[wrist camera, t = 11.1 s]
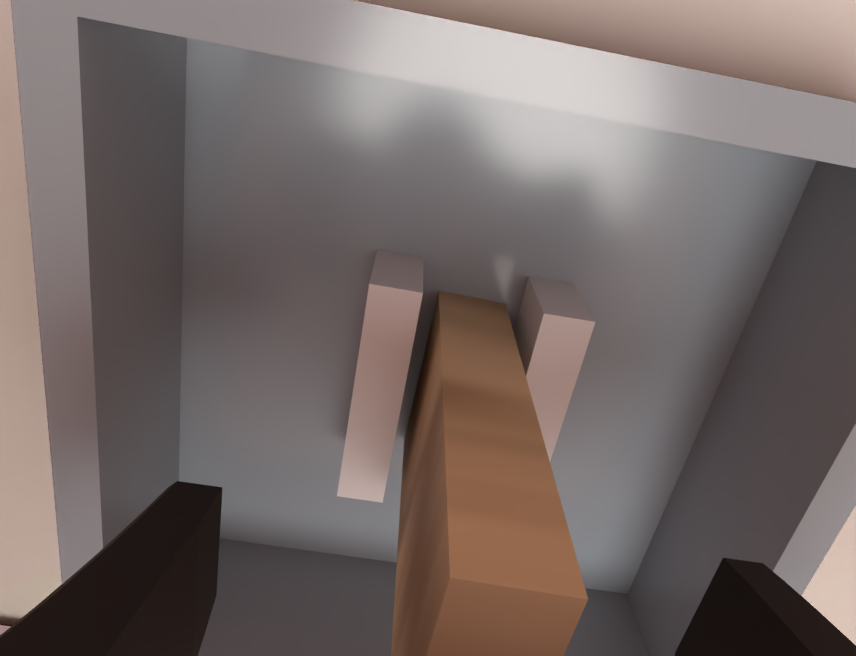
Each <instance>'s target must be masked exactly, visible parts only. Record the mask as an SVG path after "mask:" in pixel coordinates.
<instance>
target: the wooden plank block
mask: <svg viewBox="0 0 856 656" xmlns="http://www.w3.org/2000/svg"><path fill="white" fill-rule="evenodd" d="M587 601H588V597H587V593H586V590H585V586H584V582H583V579H582V575H581V572H580V568H579V565H578V561H577V557H576V554H575V550H574V547H573V543H572V540H571V536H570V532H569V529H568V525H567V522H566V518H565V515H564V511H563V507H562V504H561V500H560V497H559V493H558V490H557V486H556V482H555V479H554V475H553V472H552V468H551V465H550V461H549V457H548V454H547V450H546V447H545V443H544V440H543V436H542V432H541V429H540V425H539V422H538V418H537V415H536V411H535V407H534V404H533V400H532V397H531V393H530V390H529V386H528V382H527V379H526V375H525V372H524V368H523V364H522V361H521V357H520V354H519V350H518V347H517V343H516V339H515V336H514V332H513V329H512V325H511V322H510V318H509V314H508V311H507V307H506V304H505V303H500V302H495V301H490V300H485V299H480V298H475V297H470V296H465V295H459V294H454V293H449V292H444V291H439V292H438V296H437V300H436V305H435V309H434V313H433V318H432V322H431V326H430V330H429V335H428V339H427V343H426V348H425V352H424V356H423V360H422V365H421V369H420V373H419V378H418V382H417V386H416V390H415V395H414V399H413V403H412V408H411V412H410V416H409V420H408V425H407V429H406V433H405V438H404V449H403V466H402V483H401V499H400V516H399V533H398V549H397V566H396V583H395V600H394V616H393V633H392V650H391V656H564V653H565V651H566V649H567V646H568V644H569V642H570V640H571V637H572V635H573V633H574V631H575V628H576V626H577V624H578V621H579V619H580V617H581V615H582V612H583V610H584V608H585V606H586V603H587Z"/></svg>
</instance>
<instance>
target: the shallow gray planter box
mask: <svg viewBox="0 0 856 656" xmlns="http://www.w3.org/2000/svg"><path fill="white" fill-rule="evenodd" d="M11 8H12V19H13V30H14V42H15V53H16V65H17V76H18V87H19V99H20V110H21V122H22V133H23V144H24V156H25V167H26V178H27V190H28V201H29V213H30V224H31V235H32V247H33V258H34V270H35V281H36V292H37V304H38V315H39V326H40V338H41V349H42V361H43V372H44V383H45V395H46V406H47V418H48V429H49V440H50V452H51V463H52V474H53V486H54V497H55V509H56V520H57V531H58V543H59V554H60V566H61V577H62V584H63V583H64V582H65V581H66V580H67V579H69V578H70V577H71V576H72V575H73V574H74V573H76V572H77V571H78V570H79V569H80V568H81V567H82V566H84V565H85V564H86V563H87V562H88V561H89V560H91V559H92V558H93V557H94V556H95V555H96V554H97V553H98V552H100V551H101V550H102V549H103V548H104V547H105V546H106V545H107V544H108V543H109V542H111V541H112V540H113V539H114V538H115V537H116V536H117V535H118V534H119V533H120V532H122V531H123V530H124V529H125V528H126V527H127V526H128V525H129V524H130V523H131V522H132V521H133V520H134V519H135V518H137V517H138V516H139V515H140V514H141V513H142V512H143V511H144V510H145V509H146V508H147V507H148V506H149V505H150V504H151V503H152V502H153V501H154V500H155V499H156V498H157V497H158V496H160V495H161V494H162V493H163V492H164V491H165V490H166V489H167V488H168V487H169V486H170V485H172V484H174V483H175V482H177V481H181V482H188V483H195V484H203V485H210V486H217V487H223V488H222V506H221V524H220V541H219V559H218V577H217V595H216V598H215V602H214V605H213V608H212V612H211V615H210V618H209V621H208V625H207V628H206V631H205V635H204V638H203V641H202V644H201V647H200V650H199V654H198V656H391V650H392V633H393V616H394V600H395V583H396V566H397V549H398V533H399V516H400V499H401V483H402V466H403V449H404V438H405V433H406V429H407V425H408V420H409V416H410V412H411V408H412V403H413V399H414V395H415V390H416V386H417V382H418V378H419V373H420V369H421V365H422V360H423V356H424V352H425V348H426V343H427V339H428V335H429V330H430V326H431V322H432V318H433V313H434V309H435V305H436V300H437V296H438V292H439V291H444V292H449V293H454V294H459V295H465V296H470V297H475V298H480V299H485V300H490V301H495V302H500V303H505V304H506V307H507V311H508V314H509V318H510V322H511V325H512V329H513V332H514V336H515V339H516V343H517V347H518V350H519V354H520V357H521V361H522V364H523V368H524V372H525V375H526V379H527V382H528V386H529V390H530V393H531V397H532V400H533V404H534V407H535V411H536V415H537V418H538V422H539V425H540V429H541V432H542V436H543V440H544V443H545V447H546V450H547V454H548V457H549V461H550V465H551V468H552V472H553V475H554V479H555V482H556V486H557V490H558V493H559V497H560V500H561V504H562V507H563V511H564V515H565V518H566V522H567V525H568V529H569V532H570V536H571V540H572V543H573V547H574V550H575V554H576V557H577V561H578V565H579V568H580V572H581V575H582V579H583V582H584V586H585V590H586V593H587V597H588V601H587V603H586V606H585V608H584V610H583V612H582V615H581V617H580V619H579V621H578V624H577V626H576V628H575V631H574V633H573V635H572V637H571V640H570V642H569V644H568V646H567V649H566V651H565V653H564V656H675V652H676V650H677V648H678V646H679V644H680V642H681V640H682V638H683V636H684V634H685V632H686V630H687V628H688V626H689V624H690V622H691V620H692V618H693V616H694V614H695V612H696V610H697V608H698V606H699V604H700V602H701V600H702V598H703V596H704V594H705V592H706V590H707V588H708V586H709V584H710V582H711V580H712V578H713V576H714V574H715V572H716V570H717V569H718V567H719V565H720V563H721V561H722V559H723V558H730V559H737V560H744V561H751V562H758V563H763V564H764V565H766V566H767V567H768V568H769V569H771V570H772V571H773V572H774V573H775V574H777V575H778V576H779V577H780V578H781V579H783V580H784V581H785V582H786V583H787V584H788V585H790V586H791V587H792V588H793V589H794V590H795V591H796V592H797V593H799V594H800V595H802V594H803V592H804V590H805V589H806V587H807V585H808V584H809V582H810V580H811V579H812V577H813V575H814V574H815V572H816V570H817V569H818V567H819V565H820V564H821V562H822V560H823V559H824V557H825V555H826V554H827V552H828V550H829V549H830V547H831V545H832V544H833V542H834V540H835V539H836V537H837V535H838V534H839V532H840V530H841V529H842V527H843V525H844V524H845V522H846V520H847V519H848V517H849V515H850V514H851V512H852V510H853V509H854V507H855V505H856V102H852V101H847V100H842V99H837V98H832V97H827V96H822V95H817V94H812V93H807V92H802V91H798V90H793V89H788V88H783V87H778V86H773V85H768V84H763V83H758V82H753V81H748V80H743V79H739V78H734V77H729V76H724V75H719V74H714V73H709V72H704V71H699V70H694V69H689V68H684V67H679V66H675V65H670V64H665V63H660V62H655V61H650V60H645V59H640V58H635V57H630V56H625V55H620V54H615V53H611V52H606V51H601V50H596V49H591V48H586V47H581V46H576V45H571V44H566V43H561V42H556V41H552V40H547V39H542V38H537V37H532V36H527V35H522V34H517V33H512V32H507V31H502V30H497V29H492V28H488V27H483V26H478V25H473V24H468V23H463V22H458V21H453V20H448V19H443V18H438V17H433V16H429V15H424V14H419V13H414V12H409V11H404V10H399V9H394V8H389V7H384V6H379V5H374V4H369V3H365V2H360V1H355V0H11Z"/></svg>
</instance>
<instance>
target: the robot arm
mask: <svg viewBox="0 0 856 656" xmlns="http://www.w3.org/2000/svg"><path fill="white" fill-rule="evenodd" d="M222 488H223V487H217V486H210V485H203V484H195V483H188V482H181V481H177V482H175V483H174V484H172V485H170V486H169V487H168V488H167V489H166V490H165V491H164V492H163V493H162V494H161V495H160V496H158V497H157V498H156V499H155V500H154V501H153V502H152V503H151V504H150V505H149V506H148V507H147V508H146V509H145V510H144V511H143V512H142V513H141V514H140V515H139V516H138V517H137V518H135V519H134V520H133V521H132V522H131V523H130V524H129V525H128V526H127V527H126V528H125V529H124V530H123V531H122V532H120V533H119V534H118V535H117V536H116V537H115V538H114V539H113V540H112V541H111V542H109V543H108V544H107V545H106V546H105V547H104V548H103V549H102V550H101V551H100V552H98V553H97V554H96V555H95V556H94V557H93V558H92V559H91V560H89V561H88V562H87V563H86V564H85V565H84V566H82V567H81V568H80V569H79V570H78V571H77V572H76V573H74V574H73V575H72V576H71V577H70V578H69V579H67V580H66V581H65V582H64V583H63V584H62V585H61V586H59V587H58V588H57V589H56V590H55V591H54V592H53V593H51V594H50V595H49V596H48V597H47V598H46V599H44V600H43V601H42V602H41V603H40V604H38V605H37V606H36V607H35V608H34V609H32V610H31V611H30V612H29V613H27V614H26V615H25V616H24V617H22V618H21V619H20V620H19V621H17V622H16V623H15V624H14V625H12V626H4V625H0V656H198V654H199V650H200V647H201V644H202V641H203V638H204V635H205V631H206V628H207V625H208V621H209V618H210V615H211V612H212V608H213V605H214V602H215V598H216V595H217V577H218V559H219V541H220V524H221V506H222ZM675 656H856V646H855V645H854V644H853V643H852V642H851V641H850V640H849V639H848V638H847V637H846V636H845V635H844V634H842V633H841V632H840V631H839V630H838V629H837V628H836V627H835V626H834V625H833V624H832V623H831V622H829V621H828V620H827V619H826V618H825V617H824V616H823V615H822V614H821V613H820V612H818V611H817V610H816V609H815V608H814V607H813V606H812V605H811V604H810V603H809V602H807V601H806V600H805V599H804V598H803V597H802V596H801V595H800V594H799V593H797V592H796V591H795V590H794V589H793V588H792V587H791V586H790V585H788V584H787V583H786V582H785V581H784V580H783V579H781V578H780V577H779V576H778V575H777V574H775V573H774V572H773V571H772V570H771V569H769V568H768V567H767V566H766V565H764V564H763V563H758V562H751V561H744V560H737V559H730V558H723V559H722V561H721V563H720V565H719V567H718V569H717V570H716V572H715V574H714V576H713V578H712V580H711V582H710V584H709V586H708V588H707V590H706V592H705V594H704V596H703V598H702V600H701V602H700V604H699V606H698V608H697V610H696V612H695V614H694V616H693V618H692V620H691V622H690V624H689V626H688V628H687V630H686V632H685V634H684V636H683V638H682V640H681V642H680V644H679V646H678V648H677V650H676V652H675Z"/></svg>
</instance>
